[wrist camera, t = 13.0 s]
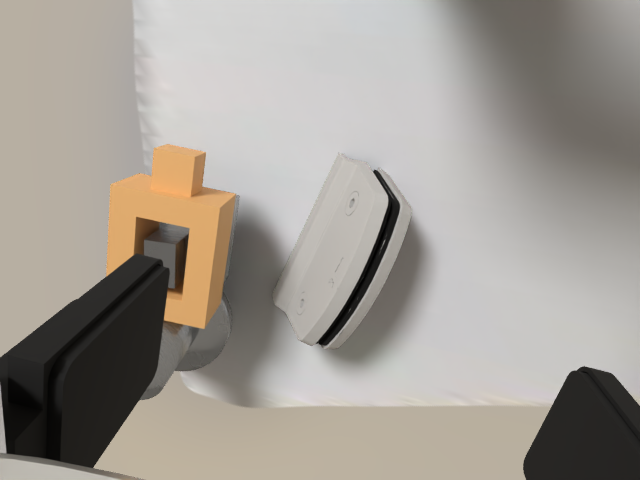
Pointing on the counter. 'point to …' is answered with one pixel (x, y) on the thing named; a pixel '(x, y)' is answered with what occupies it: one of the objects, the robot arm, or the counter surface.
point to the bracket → (182, 210)
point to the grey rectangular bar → (169, 250)
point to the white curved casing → (343, 253)
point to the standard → (193, 336)
